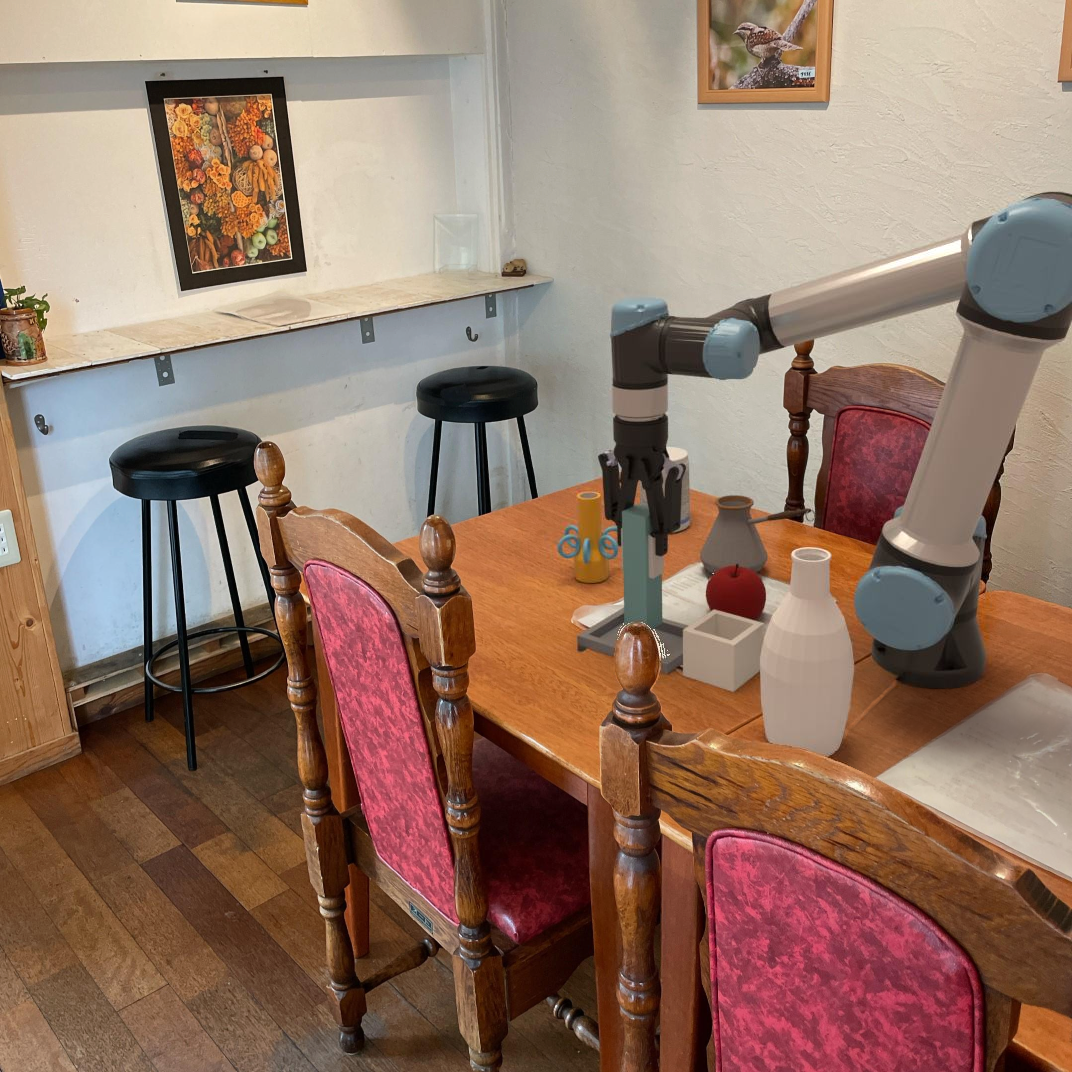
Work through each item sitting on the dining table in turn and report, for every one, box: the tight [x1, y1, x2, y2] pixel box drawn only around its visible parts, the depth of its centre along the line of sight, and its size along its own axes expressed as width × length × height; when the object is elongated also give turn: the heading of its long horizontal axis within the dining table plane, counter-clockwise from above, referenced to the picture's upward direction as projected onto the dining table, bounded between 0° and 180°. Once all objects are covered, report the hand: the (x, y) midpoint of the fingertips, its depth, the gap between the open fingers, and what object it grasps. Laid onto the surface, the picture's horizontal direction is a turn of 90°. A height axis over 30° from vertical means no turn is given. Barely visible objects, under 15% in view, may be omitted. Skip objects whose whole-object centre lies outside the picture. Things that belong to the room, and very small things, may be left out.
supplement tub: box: [638, 446, 691, 534], centre depth 203 cm, size 10×10×15 cm
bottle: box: [759, 546, 855, 758], centre depth 128 cm, size 11×11×25 cm
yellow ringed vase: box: [557, 491, 620, 584], centre depth 181 cm, size 12×10×15 cm
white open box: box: [682, 610, 765, 693], centre depth 147 cm, size 8×8×8 cm
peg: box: [622, 503, 663, 630], centre depth 153 cm, size 4×4×18 cm
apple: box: [705, 564, 767, 621], centre depth 164 cm, size 9×9×10 cm
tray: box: [576, 607, 689, 675], centre depth 158 cm, size 16×12×2 cm
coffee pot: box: [699, 494, 816, 574], centre depth 177 cm, size 21×12×15 cm, turn 41°
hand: (642, 570), depth 154 cm, fingers closed on peg, 4 cm apart
